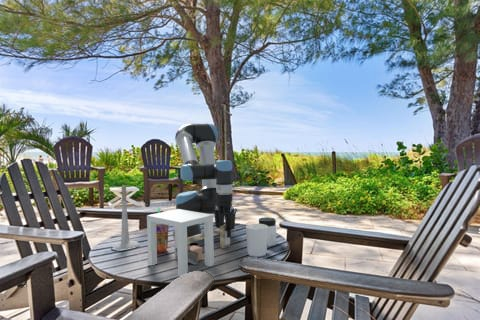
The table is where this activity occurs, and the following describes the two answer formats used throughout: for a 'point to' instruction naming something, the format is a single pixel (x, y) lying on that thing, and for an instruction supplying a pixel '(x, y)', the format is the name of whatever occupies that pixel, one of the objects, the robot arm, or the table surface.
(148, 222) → the stool
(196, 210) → the robot arm
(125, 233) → the candlestick
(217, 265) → the table surface
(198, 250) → the block
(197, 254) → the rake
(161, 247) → the smoothie
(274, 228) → the jar
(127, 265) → the table surface
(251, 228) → the candle holder
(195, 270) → the table surface
